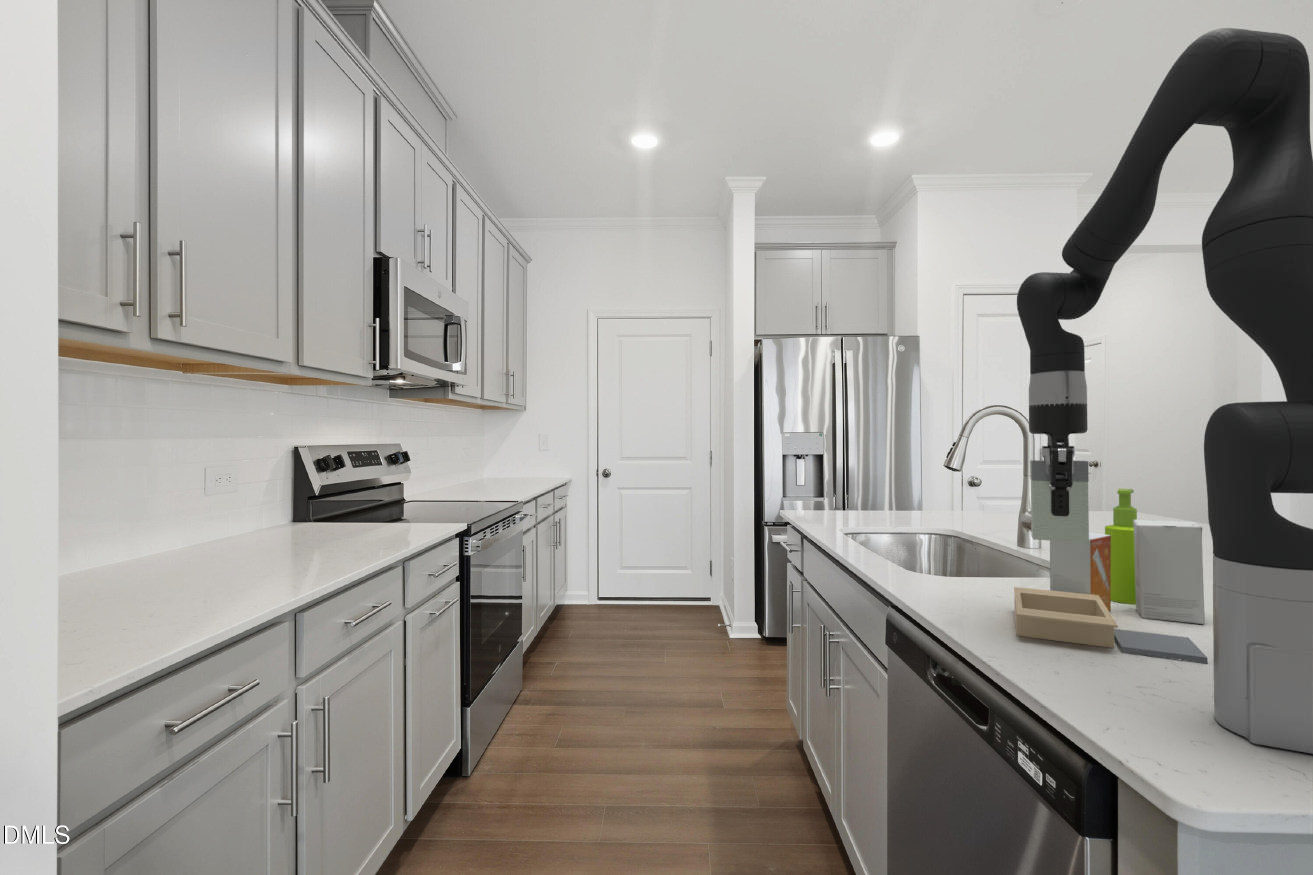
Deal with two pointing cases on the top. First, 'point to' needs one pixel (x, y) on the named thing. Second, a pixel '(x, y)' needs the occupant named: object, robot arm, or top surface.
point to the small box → (1082, 567)
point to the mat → (1158, 645)
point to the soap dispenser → (1123, 549)
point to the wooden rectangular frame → (1063, 617)
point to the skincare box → (1169, 570)
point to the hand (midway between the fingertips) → (1058, 513)
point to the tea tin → (1041, 516)
